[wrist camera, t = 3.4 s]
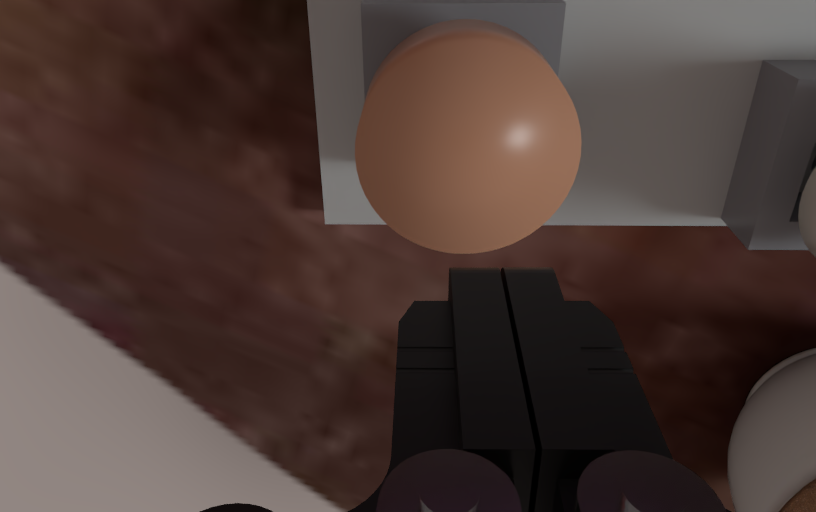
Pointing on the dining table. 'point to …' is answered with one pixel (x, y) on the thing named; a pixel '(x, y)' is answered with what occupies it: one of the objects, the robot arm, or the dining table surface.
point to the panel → (618, 104)
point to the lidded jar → (777, 441)
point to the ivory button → (809, 212)
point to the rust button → (466, 138)
